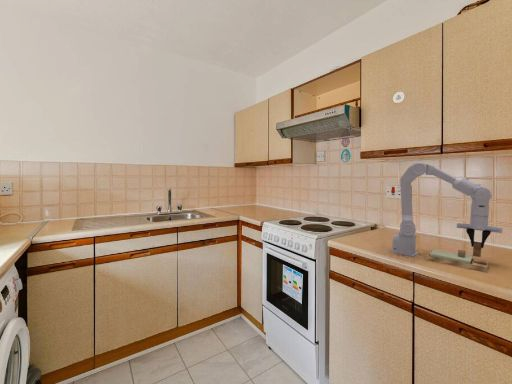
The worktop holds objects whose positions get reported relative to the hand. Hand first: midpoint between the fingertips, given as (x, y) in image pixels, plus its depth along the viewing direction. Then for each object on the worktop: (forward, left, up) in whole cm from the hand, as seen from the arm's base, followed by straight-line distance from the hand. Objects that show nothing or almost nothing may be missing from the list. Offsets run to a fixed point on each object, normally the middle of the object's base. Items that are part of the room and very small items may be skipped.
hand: (477, 246), depth 108 cm
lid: (-8, -8, -4) cm, 12 cm away
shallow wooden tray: (-6, -9, -7) cm, 13 cm away
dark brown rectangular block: (0, 0, -4) cm, 4 cm away
